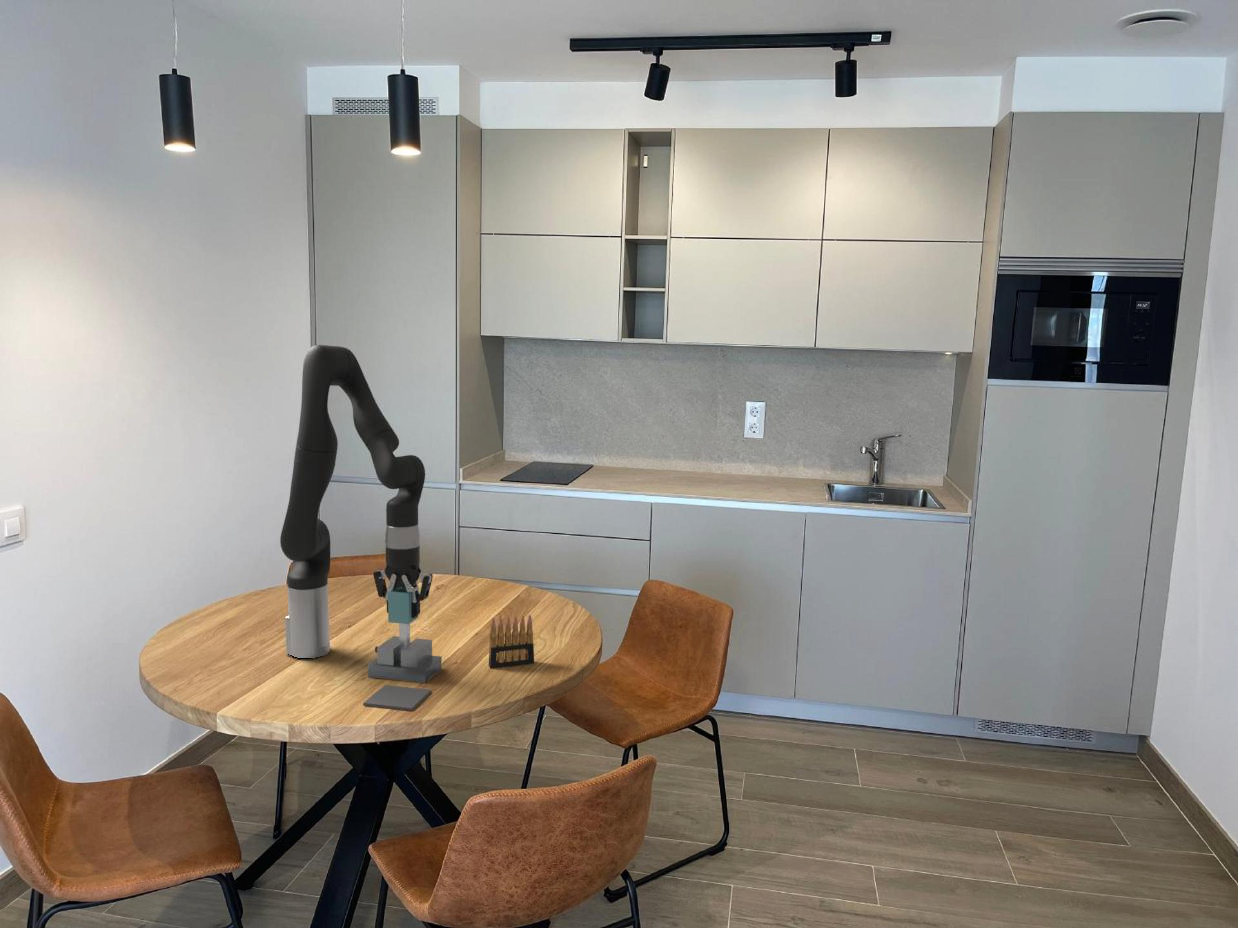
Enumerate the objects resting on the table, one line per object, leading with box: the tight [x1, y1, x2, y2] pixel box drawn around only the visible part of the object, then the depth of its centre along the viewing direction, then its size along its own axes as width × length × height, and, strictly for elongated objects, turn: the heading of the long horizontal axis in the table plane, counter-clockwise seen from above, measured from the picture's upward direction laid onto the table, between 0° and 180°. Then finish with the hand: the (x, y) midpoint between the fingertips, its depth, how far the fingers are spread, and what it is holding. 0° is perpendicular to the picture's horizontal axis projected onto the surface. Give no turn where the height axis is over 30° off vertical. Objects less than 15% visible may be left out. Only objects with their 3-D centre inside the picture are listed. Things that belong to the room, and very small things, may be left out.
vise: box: [367, 623, 443, 684], centre depth 205 cm, size 14×9×14 cm, turn 78°
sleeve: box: [387, 587, 419, 625], centre depth 204 cm, size 5×5×7 cm
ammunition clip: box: [488, 614, 535, 669], centre depth 211 cm, size 11×2×12 cm, turn 110°
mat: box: [362, 684, 432, 712], centre depth 191 cm, size 11×10×1 cm
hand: (403, 615), depth 204 cm, fingers closed on sleeve, 5 cm apart
